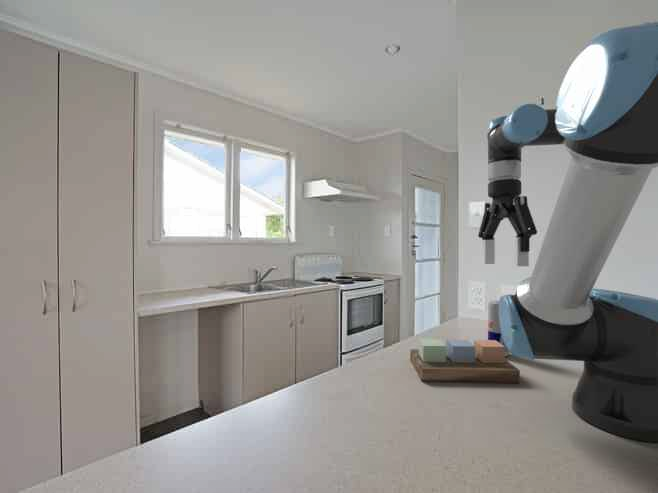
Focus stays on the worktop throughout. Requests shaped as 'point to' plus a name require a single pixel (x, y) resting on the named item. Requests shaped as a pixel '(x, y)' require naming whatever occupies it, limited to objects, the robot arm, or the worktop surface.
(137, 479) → the worktop surface
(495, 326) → the beverage can
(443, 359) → the sage button
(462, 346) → the slate button
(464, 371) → the board
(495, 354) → the terracotta button
